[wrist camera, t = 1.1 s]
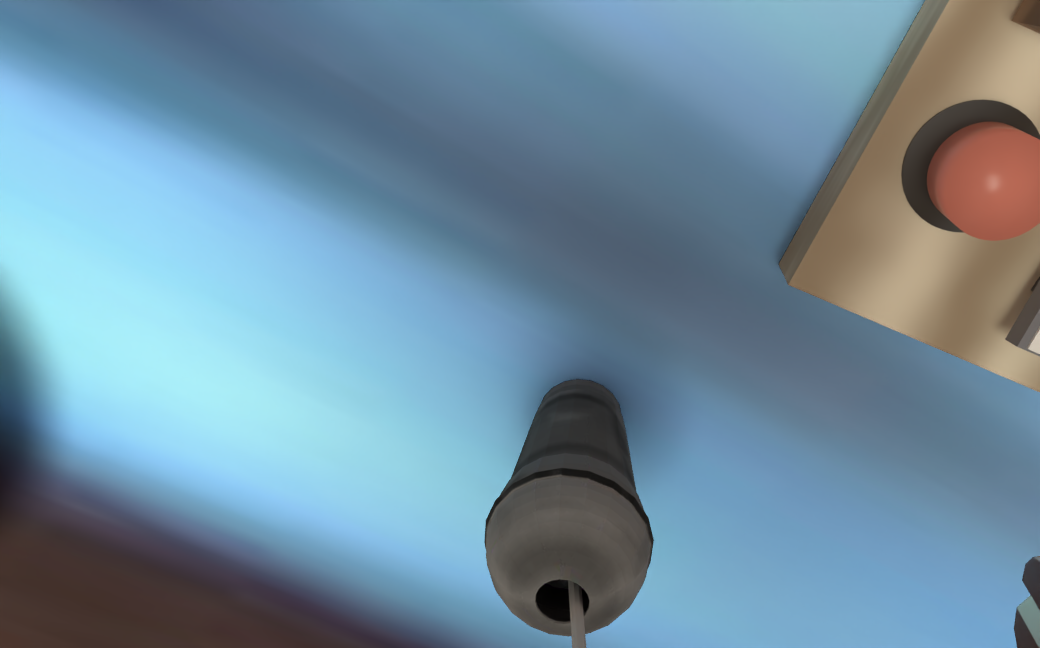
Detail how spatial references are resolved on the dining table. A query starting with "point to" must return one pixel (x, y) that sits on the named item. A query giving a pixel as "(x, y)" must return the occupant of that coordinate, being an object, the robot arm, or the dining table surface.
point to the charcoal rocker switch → (1028, 325)
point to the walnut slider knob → (1028, 15)
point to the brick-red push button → (987, 180)
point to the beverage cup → (570, 518)
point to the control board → (905, 199)
